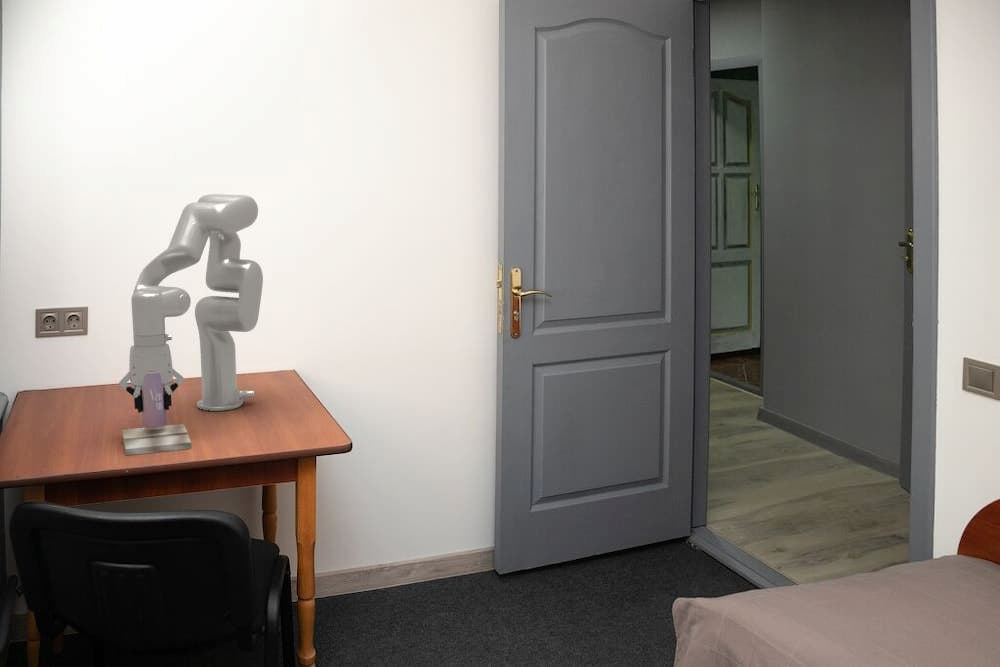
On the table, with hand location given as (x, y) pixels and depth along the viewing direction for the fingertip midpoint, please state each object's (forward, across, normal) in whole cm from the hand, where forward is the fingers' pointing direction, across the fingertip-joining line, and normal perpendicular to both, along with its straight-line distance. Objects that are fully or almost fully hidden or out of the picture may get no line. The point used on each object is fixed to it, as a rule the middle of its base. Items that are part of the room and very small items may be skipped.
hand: (153, 409), depth 237 cm
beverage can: (+5, 0, 0) cm, 5 cm away
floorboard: (+7, 0, +10) cm, 12 cm away
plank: (+7, 0, 0) cm, 7 cm away
